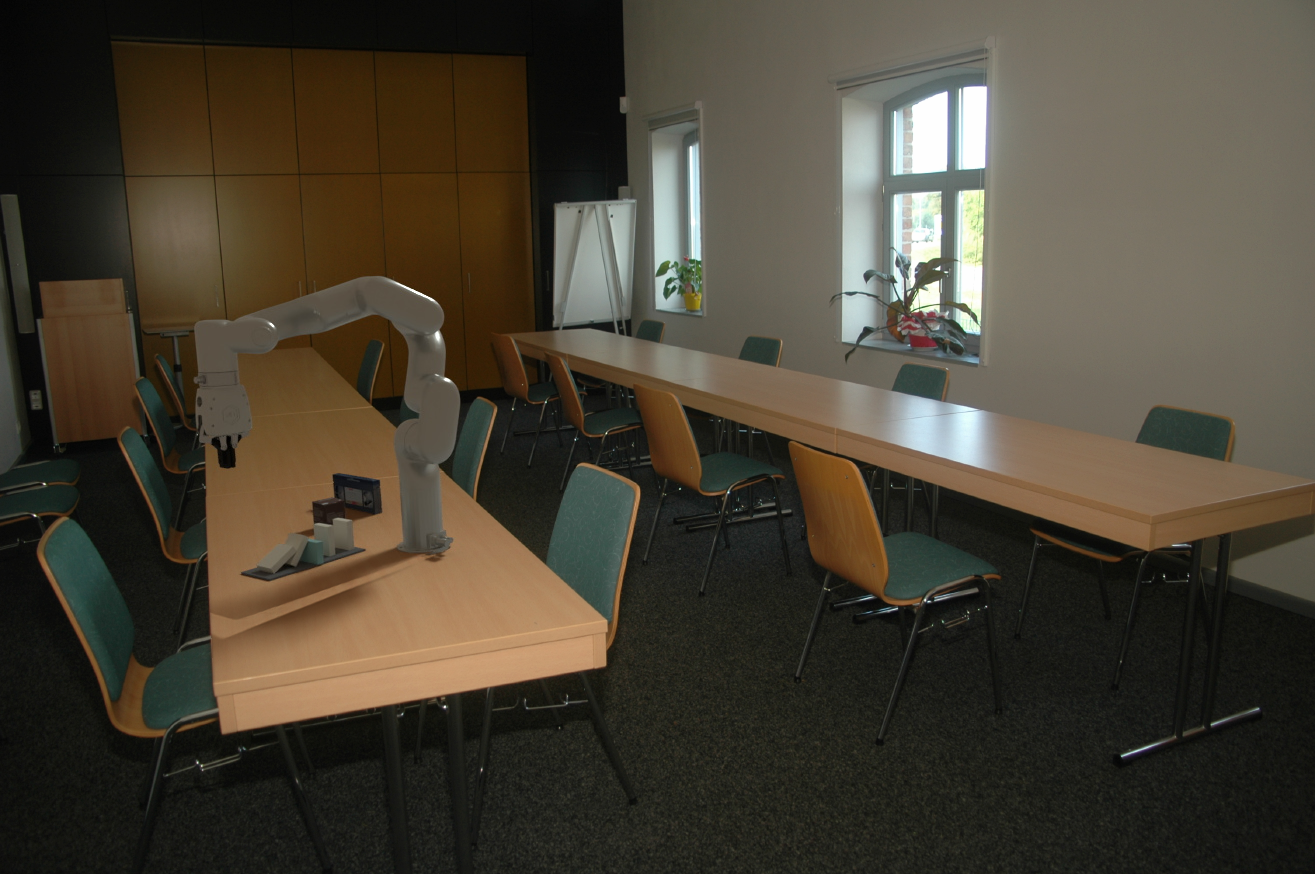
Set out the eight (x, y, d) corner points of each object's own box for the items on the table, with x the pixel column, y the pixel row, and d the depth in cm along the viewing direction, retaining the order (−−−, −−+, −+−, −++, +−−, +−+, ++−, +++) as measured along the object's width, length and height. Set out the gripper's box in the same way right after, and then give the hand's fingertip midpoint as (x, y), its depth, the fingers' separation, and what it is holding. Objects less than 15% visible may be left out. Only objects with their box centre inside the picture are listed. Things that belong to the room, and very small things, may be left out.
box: (334, 523, 246) (332, 496, 245) (347, 527, 242) (345, 500, 241) (313, 528, 242) (311, 501, 240) (326, 532, 238) (324, 504, 237)
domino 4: (340, 545, 223) (338, 517, 222) (354, 548, 221) (352, 520, 220) (334, 547, 222) (332, 519, 221) (348, 550, 219) (346, 521, 218)
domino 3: (321, 551, 219) (319, 522, 218) (335, 554, 216) (333, 525, 215) (315, 553, 218) (313, 524, 216) (329, 556, 215) (327, 527, 214)
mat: (365, 550, 221) (365, 548, 221) (269, 580, 199) (269, 579, 199) (337, 544, 226) (337, 543, 226) (241, 573, 204) (240, 572, 204)
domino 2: (281, 563, 210) (295, 535, 212) (296, 566, 207) (309, 537, 210) (276, 561, 209) (289, 532, 211) (290, 564, 206) (304, 535, 208)
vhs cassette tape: (334, 508, 264) (331, 473, 262) (343, 506, 266) (341, 472, 265) (374, 517, 253) (371, 481, 251) (383, 514, 255) (380, 479, 254)
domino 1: (259, 570, 205) (282, 548, 210) (274, 573, 203) (296, 551, 207) (256, 565, 204) (278, 543, 209) (270, 568, 202) (293, 546, 206)
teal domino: (302, 537, 213) (322, 541, 209) (303, 558, 213) (323, 562, 210) (296, 538, 211) (316, 542, 208) (297, 560, 212) (317, 564, 208)
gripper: (196, 384, 183) (205, 475, 186) (263, 377, 195) (270, 463, 198) (174, 383, 187) (183, 472, 190) (241, 376, 199) (248, 460, 202)
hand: (227, 467), depth 194 cm, fingers closed
